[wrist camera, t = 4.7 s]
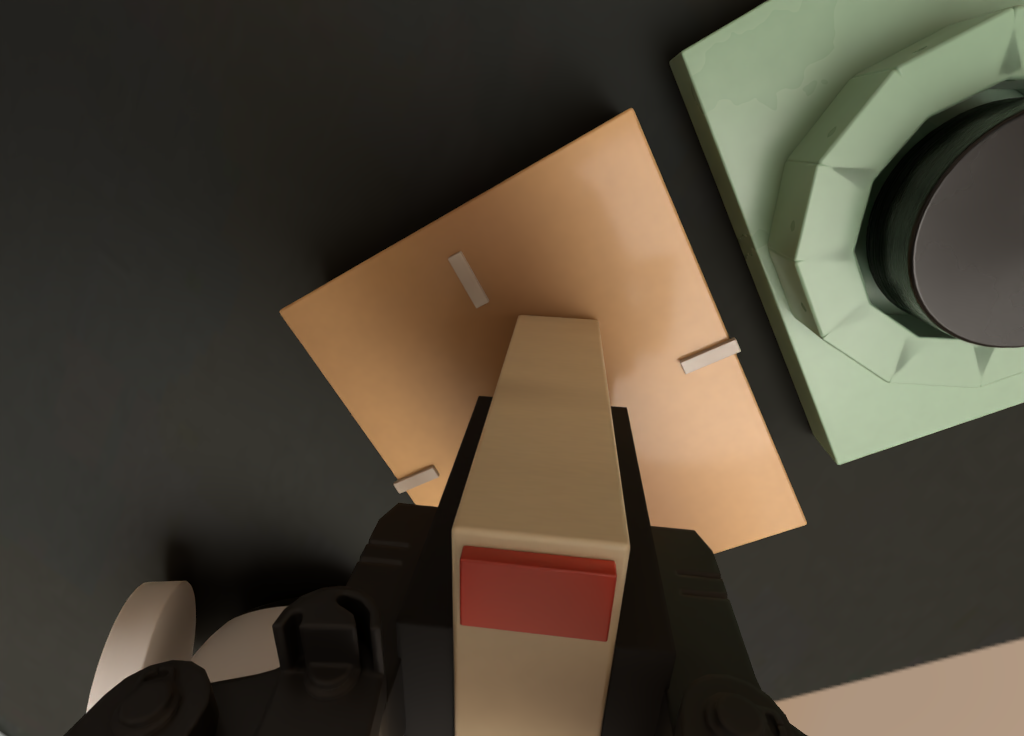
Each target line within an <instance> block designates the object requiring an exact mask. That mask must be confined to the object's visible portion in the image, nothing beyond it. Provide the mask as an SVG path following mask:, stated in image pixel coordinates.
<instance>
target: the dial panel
mask: <svg viewBox="0 0 1024 736" xmlns="http://www.w3.org/2000/svg"><path fill="white" fill-rule="evenodd" d="M280 314H281V315H282V317H283V318H284V320H285V321H286V322H287V324H288V325H289V327H290V328H291V329H292V331H293V332H294V334H295V335H296V337H297V338H298V339H299V341H300V342H301V344H302V345H303V346H304V348H305V349H306V351H307V352H308V353H309V355H310V356H311V358H312V359H313V361H314V362H315V363H316V365H317V366H318V368H319V369H320V370H321V372H322V373H323V375H324V376H325V377H326V379H327V380H328V382H329V383H330V384H331V386H332V387H333V389H334V390H335V392H336V393H337V394H338V396H339V397H340V399H341V400H342V401H343V403H344V404H345V406H346V407H347V408H348V410H349V411H350V413H351V414H352V415H353V417H354V418H355V420H356V421H357V423H358V424H359V425H360V427H361V428H362V430H363V431H364V432H365V434H366V435H367V437H368V438H369V439H370V441H371V442H372V444H373V445H374V446H375V448H376V449H377V451H378V452H379V454H380V455H381V456H382V458H383V459H384V461H385V462H386V463H387V465H388V466H389V468H390V469H391V470H392V472H393V473H394V475H395V476H396V477H397V479H398V480H397V481H395V482H394V484H393V485H394V487H395V488H396V489H397V491H398V492H399V493H402V492H405V491H406V492H407V493H408V494H409V496H410V497H411V499H412V500H413V501H414V503H415V504H416V505H424V506H434V507H438V505H439V502H440V500H441V497H442V494H443V491H444V489H445V486H446V483H447V481H448V478H449V475H450V472H451V470H452V467H453V464H454V462H455V459H456V456H457V453H458V451H459V448H460V445H461V443H462V440H463V437H464V435H465V432H466V429H467V426H468V424H469V421H470V418H471V416H472V413H473V410H474V407H475V405H476V402H477V399H478V397H479V396H489V397H493V395H494V392H495V389H496V386H497V383H498V379H499V376H500V373H501V370H502V367H503V363H504V360H505V357H506V354H507V351H508V347H509V344H510V341H511V338H512V335H513V331H514V328H515V325H516V322H517V319H518V316H519V315H530V316H545V317H561V318H576V319H591V320H597V321H598V322H599V328H600V335H601V342H602V349H603V356H604V363H605V370H606V377H607V384H608V392H609V399H610V406H615V407H627V410H628V415H629V420H630V425H631V430H632V435H633V440H634V445H635V450H636V455H637V460H638V465H639V470H640V475H641V480H642V485H643V490H644V495H645V500H646V505H647V510H648V515H649V520H650V525H651V526H658V527H668V528H678V529H689V530H695V531H696V532H697V534H698V535H699V536H700V537H701V538H702V539H703V541H704V542H705V543H706V544H707V545H708V546H709V547H710V549H711V550H712V551H713V554H715V553H718V552H721V551H724V550H727V549H731V548H734V547H737V546H740V545H743V544H747V543H750V542H753V541H756V540H759V539H762V538H766V537H769V536H772V535H775V534H778V533H781V532H785V531H788V530H791V529H794V528H797V527H801V526H804V525H806V524H807V521H806V519H805V517H804V514H803V512H802V509H801V507H800V505H799V502H798V500H797V498H796V495H795V493H794V490H793V488H792V486H791V483H790V481H789V478H788V476H787V474H786V471H785V469H784V467H783V464H782V462H781V459H780V457H779V455H778V452H777V450H776V447H775V445H774V443H773V440H772V438H771V436H770V433H769V431H768V428H767V426H766V424H765V421H764V419H763V416H762V414H761V412H760V409H759V407H758V405H757V402H756V400H755V397H754V395H753V393H752V390H751V388H750V385H749V383H748V381H747V378H746V376H745V374H744V371H743V369H742V366H741V364H740V362H739V359H738V357H737V354H736V353H738V352H741V350H740V348H739V345H738V343H737V340H736V339H735V338H731V339H730V338H729V335H728V333H727V331H726V328H725V326H724V323H723V321H722V319H721V316H720V314H719V312H718V309H717V307H716V304H715V302H714V300H713V297H712V295H711V292H710V290H709V288H708V285H707V283H706V281H705V278H704V276H703V273H702V271H701V269H700V266H699V264H698V262H697V259H696V257H695V254H694V252H693V250H692V247H691V245H690V242H689V240H688V238H687V235H686V233H685V231H684V228H683V226H682V223H681V221H680V219H679V216H678V214H677V211H676V209H675V207H674V204H673V202H672V200H671V197H670V195H669V192H668V190H667V188H666V185H665V183H664V180H663V178H662V176H661V173H660V171H659V169H658V166H657V164H656V161H655V159H654V157H653V154H652V152H651V149H650V147H649V145H648V142H647V140H646V138H645V135H644V133H643V130H642V128H641V126H640V123H639V121H638V118H637V116H636V114H635V111H634V109H632V108H629V109H627V110H626V111H624V112H622V113H620V114H619V115H617V116H615V117H614V118H612V119H610V120H608V121H607V122H605V123H603V124H601V125H600V126H598V127H596V128H594V129H593V130H591V131H589V132H588V133H586V134H584V135H582V136H581V137H579V138H577V139H575V140H574V141H572V142H570V143H568V144H567V145H565V146H563V147H562V148H560V149H558V150H556V151H555V152H553V153H551V154H549V155H548V156H546V157H544V158H542V159H541V160H539V161H537V162H536V163H534V164H532V165H530V166H529V167H527V168H525V169H523V170H522V171H520V172H518V173H516V174H515V175H513V176H511V177H510V178H508V179H506V180H504V181H503V182H501V183H499V184H497V185H496V186H494V187H492V188H490V189H489V190H487V191H485V192H484V193H482V194H480V195H478V196H477V197H475V198H473V199H471V200H470V201H468V202H466V203H465V204H463V205H461V206H459V207H458V208H456V209H454V210H452V211H451V212H449V213H447V214H445V215H444V216H442V217H440V218H439V219H437V220H435V221H433V222H432V223H430V224H428V225H426V226H425V227H423V228H421V229H419V230H418V231H416V232H414V233H413V234H411V235H409V236H407V237H406V238H404V239H402V240H400V241H399V242H397V243H395V244H393V245H392V246H390V247H388V248H387V249H385V250H383V251H381V252H380V253H378V254H376V255H374V256H373V257H371V258H369V259H367V260H366V261H364V262H362V263H361V264H359V265H357V266H355V267H354V268H352V269H350V270H348V271H347V272H345V273H343V274H341V275H340V276H338V277H336V278H335V279H333V280H331V281H329V282H328V283H326V284H324V285H322V286H321V287H319V288H317V289H316V290H314V291H312V292H310V293H309V294H307V295H305V296H303V297H302V298H300V299H298V300H296V301H295V302H293V303H291V304H290V305H288V306H286V307H284V308H283V309H281V310H280Z"/></svg>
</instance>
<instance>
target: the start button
mask: <svg viewBox="0 0 1024 736" xmlns="http://www.w3.org/2000/svg"><path fill="white" fill-rule="evenodd" d="M866 255H867V260H868V265H869V269H870V272H871V274H872V277H873V279H874V281H875V283H876V285H877V286H878V288H879V289H880V291H881V292H882V293H883V294H884V296H885V297H886V298H887V299H888V300H889V301H890V302H891V303H893V304H894V305H895V306H896V307H898V308H899V309H901V310H903V311H904V312H906V313H908V314H910V315H911V316H913V317H915V318H917V319H919V320H921V321H923V322H925V323H927V324H929V325H931V326H933V327H935V328H937V329H939V330H941V331H942V332H944V333H946V334H948V335H950V336H952V337H954V338H957V339H959V340H962V341H964V342H967V343H971V344H975V345H979V346H985V347H993V348H1020V347H1024V97H1015V98H1009V99H1003V100H997V101H993V102H990V103H987V104H983V105H980V106H977V107H975V108H972V109H970V110H967V111H965V112H963V113H960V114H959V115H957V116H955V117H953V118H951V119H950V120H948V121H946V122H944V123H943V124H941V125H940V126H938V127H937V128H935V129H934V130H933V131H931V132H930V133H928V134H927V135H926V136H925V137H924V138H922V139H921V140H920V141H919V142H918V143H916V144H915V145H914V146H913V147H912V148H911V149H910V150H909V151H908V152H907V153H906V154H905V155H904V156H903V157H902V158H901V160H900V161H899V162H898V163H897V165H896V166H895V167H894V169H893V170H892V171H891V172H890V174H889V176H888V177H887V179H886V180H885V182H884V183H883V185H882V187H881V189H880V191H879V193H878V195H877V197H876V199H875V201H874V204H873V207H872V210H871V213H870V216H869V221H868V225H867V232H866Z"/></svg>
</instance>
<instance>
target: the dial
mask: <svg viewBox="0 0 1024 736" xmlns="http://www.w3.org/2000/svg"><path fill="white" fill-rule="evenodd" d="M629 554H630V541H629V534H628V527H627V519H626V512H625V505H624V498H623V491H622V484H621V477H620V470H619V463H618V456H617V448H616V441H615V434H614V427H613V420H612V413H611V406H610V399H609V392H608V384H607V377H606V370H605V363H604V356H603V349H602V342H601V335H600V328H599V322H598V321H597V320H591V319H576V318H561V317H545V316H530V315H519V316H518V319H517V322H516V325H515V328H514V331H513V335H512V338H511V341H510V344H509V347H508V351H507V354H506V357H505V360H504V363H503V367H502V370H501V373H500V376H499V379H498V383H497V386H496V389H495V392H494V395H493V399H492V402H491V405H490V408H489V411H488V415H487V418H486V421H485V424H484V427H483V431H482V434H481V437H480V440H479V443H478V447H477V450H476V453H475V456H474V459H473V462H472V466H471V469H470V472H469V475H468V478H467V482H466V485H465V488H464V491H463V494H462V498H461V501H460V504H459V507H458V510H457V514H456V517H455V520H454V523H453V526H452V601H453V672H454V736H601V731H602V725H603V718H604V712H605V706H606V699H607V693H608V687H609V680H610V674H611V668H612V661H613V655H614V649H615V642H616V636H617V630H618V623H619V617H620V611H621V604H622V598H623V592H624V585H625V579H626V573H627V566H628V560H629Z"/></svg>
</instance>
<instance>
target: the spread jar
mask: <svg viewBox="0 0 1024 736" xmlns="http://www.w3.org/2000/svg"><path fill="white" fill-rule="evenodd" d="M298 598H300V597H297V598H290V599H284V600H280V601H276V602H273V603H269V604H266V605H263V606H260V607H257V608H254V609H252V610H249V611H247V612H245V613H243V614H241V615H239V616H237V617H235V618H233V619H231V620H230V621H228V622H227V623H226V624H224V625H223V626H222V627H221V628H220V629H218V630H217V631H216V632H215V633H214V634H213V635H211V636H210V637H209V638H208V640H207V641H206V642H205V643H204V644H203V645H202V646H201V647H200V648H199V649H198V651H197V652H196V653H195V654H194V655H193V648H194V640H195V627H196V604H195V596H194V591H193V588H192V586H191V584H190V583H188V582H187V581H160V582H145V583H143V584H142V585H140V586H139V587H137V588H136V590H135V591H134V592H133V593H132V594H131V595H130V596H129V598H128V599H127V601H126V603H125V604H124V606H123V607H122V609H121V611H120V613H119V615H118V617H117V618H116V620H115V622H114V624H113V627H112V629H111V631H110V634H109V636H108V639H107V641H106V643H105V646H104V649H103V652H102V655H101V658H100V661H99V663H98V666H97V670H96V674H95V677H94V681H93V684H92V688H91V692H90V697H89V701H88V706H87V711H86V713H87V712H88V711H89V710H90V709H91V708H92V707H93V706H94V705H95V704H96V703H97V702H98V701H99V700H100V699H101V698H102V697H103V696H104V695H105V694H106V693H107V692H109V691H110V690H111V689H112V688H114V687H115V686H116V685H117V684H119V683H120V682H121V681H122V680H123V679H125V678H126V677H128V676H130V675H132V674H134V673H136V672H138V671H140V670H142V669H144V668H146V667H148V666H150V665H154V664H158V663H162V662H166V661H170V660H181V661H192V662H194V663H195V664H197V665H199V666H200V667H202V668H204V669H205V670H206V673H207V675H208V678H209V680H210V682H211V683H212V682H217V681H223V680H228V679H233V678H239V677H244V676H249V675H255V674H259V673H263V672H267V671H270V670H274V669H276V668H278V667H280V664H279V659H278V654H277V649H276V644H275V639H274V634H273V629H272V625H273V623H274V622H275V621H276V619H277V618H278V617H279V615H280V614H281V613H282V611H283V610H284V609H285V608H286V607H288V606H289V605H290V604H292V603H293V602H294V601H296V600H297V599H298ZM192 655H193V657H192Z"/></svg>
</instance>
